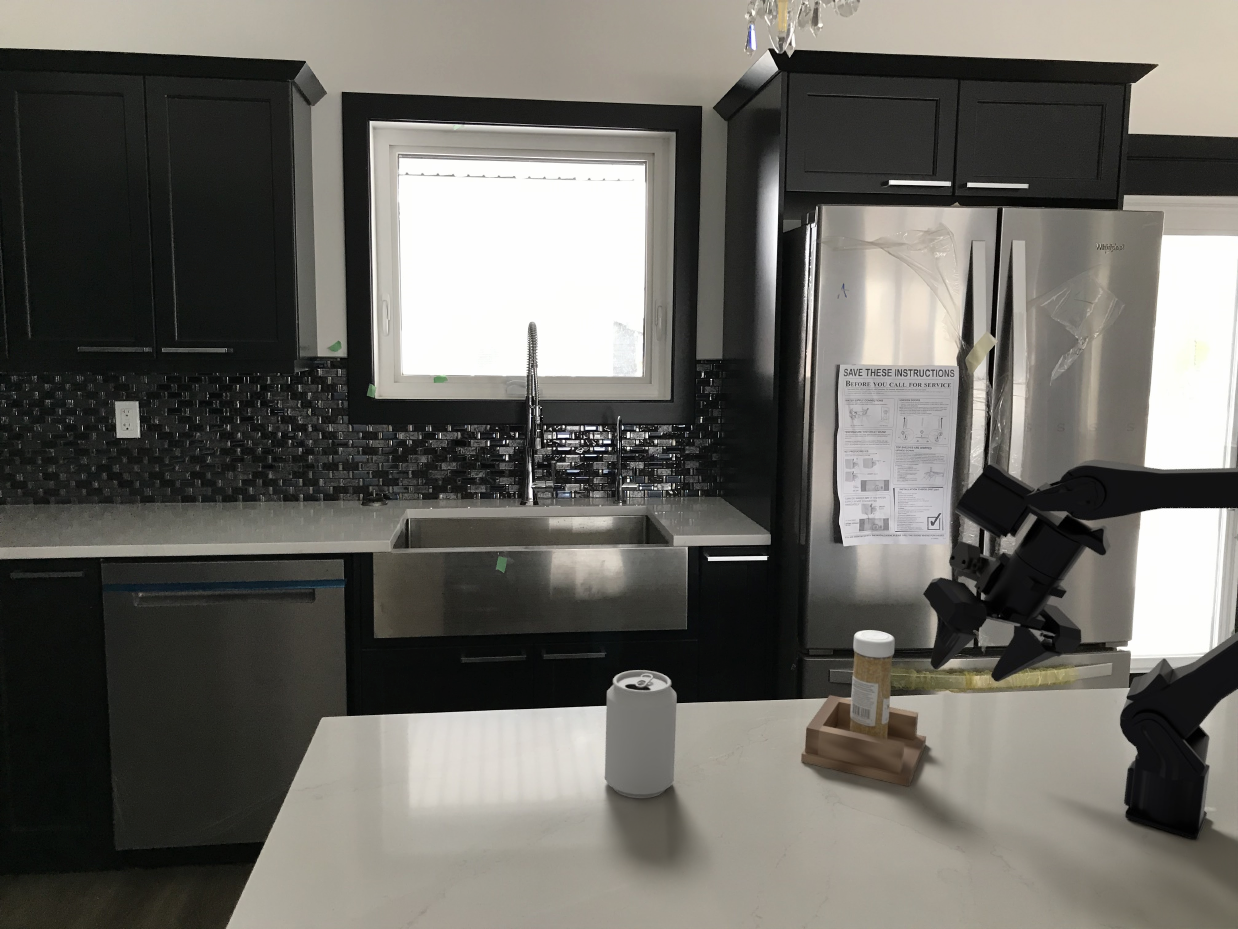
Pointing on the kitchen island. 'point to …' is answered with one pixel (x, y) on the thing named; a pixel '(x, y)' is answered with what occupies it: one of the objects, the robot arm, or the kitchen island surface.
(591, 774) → the kitchen island surface
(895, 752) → the walnut cradle
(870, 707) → the sprinkles bottle
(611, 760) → the can
